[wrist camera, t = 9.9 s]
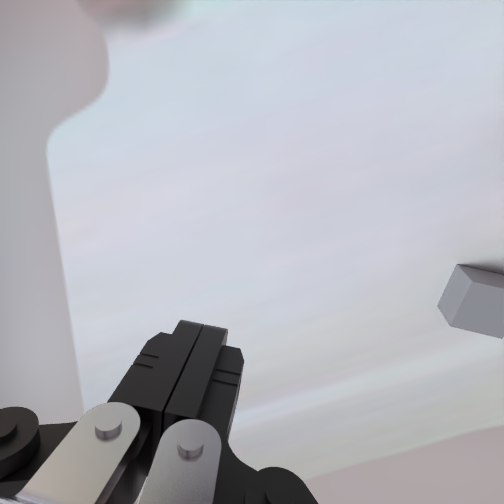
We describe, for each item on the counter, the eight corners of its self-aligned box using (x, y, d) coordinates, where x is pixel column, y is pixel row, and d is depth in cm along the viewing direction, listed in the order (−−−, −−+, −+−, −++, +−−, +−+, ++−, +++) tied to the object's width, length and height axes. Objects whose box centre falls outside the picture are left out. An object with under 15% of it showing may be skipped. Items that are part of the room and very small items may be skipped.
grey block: (456, 263, 37) (472, 281, 34) (505, 275, 37) (527, 294, 33) (436, 305, 39) (449, 326, 36) (484, 316, 39) (502, 338, 35)
